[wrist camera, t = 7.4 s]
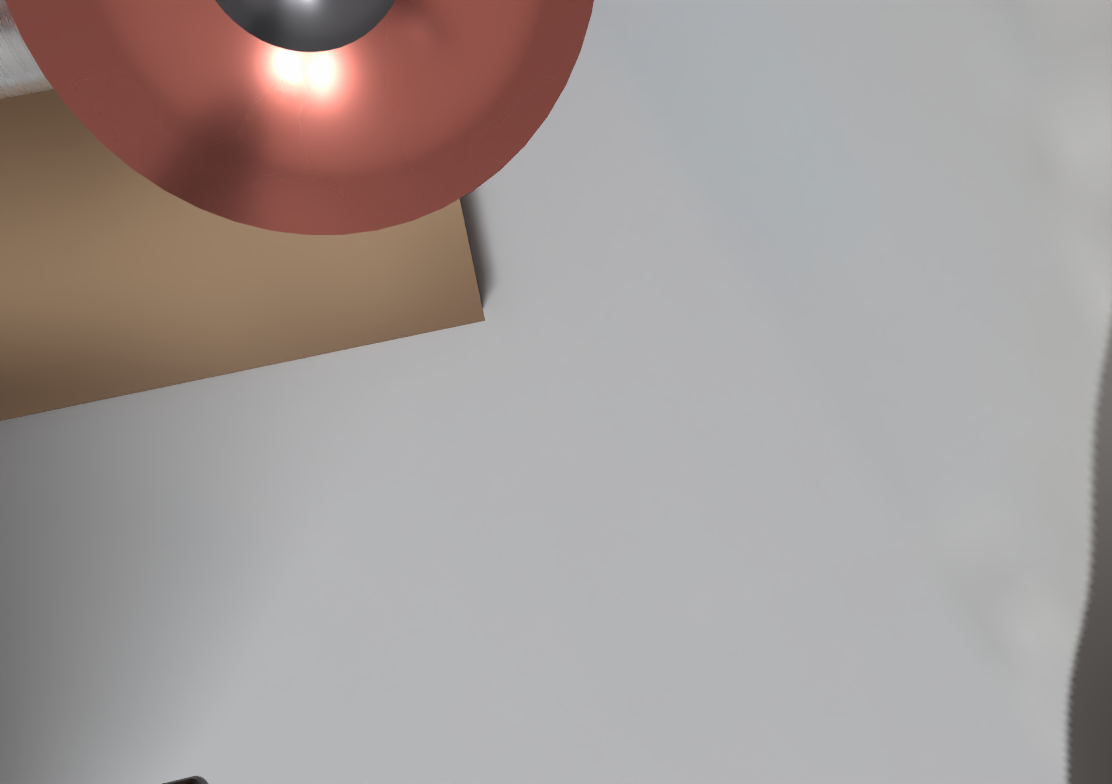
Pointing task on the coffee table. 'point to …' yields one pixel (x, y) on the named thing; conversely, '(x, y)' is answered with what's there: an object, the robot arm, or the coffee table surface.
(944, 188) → the coffee table surface
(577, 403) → the coffee table surface
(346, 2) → the silver and red piece
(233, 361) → the walnut board
